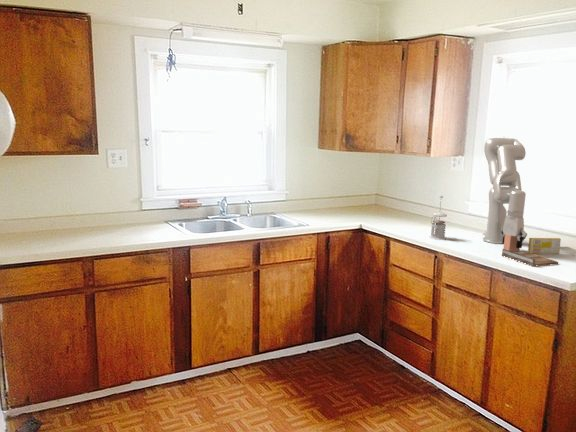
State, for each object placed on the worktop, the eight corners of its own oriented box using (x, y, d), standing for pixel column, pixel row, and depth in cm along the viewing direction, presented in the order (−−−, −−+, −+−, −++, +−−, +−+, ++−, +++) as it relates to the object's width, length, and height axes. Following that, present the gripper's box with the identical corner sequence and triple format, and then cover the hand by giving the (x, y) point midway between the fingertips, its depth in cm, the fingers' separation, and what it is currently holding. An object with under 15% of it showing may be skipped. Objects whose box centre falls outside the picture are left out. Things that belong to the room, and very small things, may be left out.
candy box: (557, 253, 267) (559, 238, 265) (559, 254, 265) (561, 238, 263) (527, 252, 266) (529, 237, 264) (529, 253, 264) (531, 238, 262)
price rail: (502, 253, 257) (502, 248, 256) (503, 253, 257) (503, 248, 257) (533, 264, 238) (533, 259, 238) (534, 263, 239) (535, 259, 238)
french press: (434, 240, 288) (438, 196, 284) (424, 235, 299) (427, 193, 295) (449, 239, 291) (453, 196, 286) (438, 235, 302) (442, 193, 297)
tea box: (503, 250, 268) (504, 234, 267) (513, 249, 271) (515, 233, 269) (508, 252, 265) (510, 235, 263) (519, 251, 267) (521, 235, 266)
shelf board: (501, 255, 257) (501, 253, 257) (525, 253, 262) (526, 251, 262) (532, 266, 238) (533, 264, 238) (558, 264, 244) (558, 261, 244)
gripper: (497, 211, 271) (494, 242, 274) (522, 217, 255) (518, 250, 258) (508, 211, 273) (505, 241, 277) (534, 216, 258) (530, 249, 261)
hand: (511, 245), depth 267 cm, fingers open, 9 cm apart
